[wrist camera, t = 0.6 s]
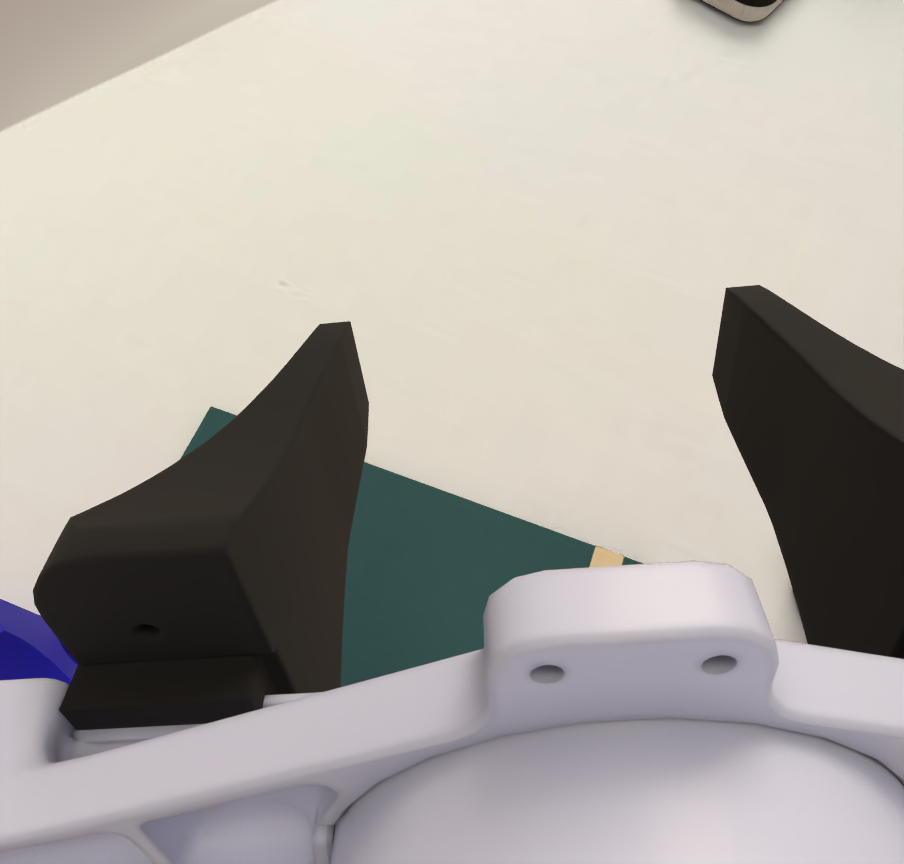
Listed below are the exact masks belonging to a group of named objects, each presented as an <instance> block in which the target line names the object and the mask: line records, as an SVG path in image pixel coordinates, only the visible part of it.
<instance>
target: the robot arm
mask: <svg viewBox="0 0 904 864" xmlns="http://www.w3.org/2000/svg"><path fill="white" fill-rule="evenodd" d="M712 376H713V379H714V383H715V387H716V391H717V394H718V398H719V401H720V405H721V408H722V411H723V415H724V418H725V420H726V422H727V425H728V427H729V429H730V431H731V434H732V436H733V438H734V440H735V442H736V445H737V447H738V449H739V451H740V453H741V455H742V457H743V460H744V462H745V464H746V466H747V468H748V470H749V472H750V475H751V477H752V479H753V481H754V483H755V485H756V487H757V490H758V492H759V494H760V496H761V498H762V500H763V502H764V504H765V507H766V509H767V512H768V514H769V517H770V519H771V522H772V524H773V527H774V530H775V534H776V537H777V540H778V543H779V546H780V549H781V552H782V555H783V558H784V561H785V565H786V568H787V571H788V575H789V578H790V581H791V585H792V588H793V592H794V595H795V598H796V602H797V605H798V609H799V612H800V616H801V620H802V624H803V628H804V631H805V635H806V639H807V643H808V644H804V643H798V642H791V641H785V640H779V639H774V637H773V634H772V631H771V629H770V626H769V623H768V621H767V618H766V616H765V613H764V610H763V608H762V605H761V602H760V600H759V597H758V594H757V592H756V589H755V586H754V584H753V581H752V579H751V578H749V577H747V576H746V575H744V574H743V573H741V572H740V571H738V570H737V569H735V568H734V567H732V566H730V565H727V564H720V563H711V562H701V561H682V562H666V563H651V564H635V565H620V566H604V567H589V568H574V569H558V570H544V571H540V572H536V573H532V574H527V575H523V576H519V577H515V578H513V579H512V580H510V581H509V582H508V583H506V584H505V585H504V586H502V587H501V588H499V589H498V590H497V591H495V592H494V593H492V594H491V595H490V596H489V598H488V602H487V605H486V608H485V611H484V614H483V628H484V648H483V649H480V650H477V651H473V652H469V653H466V654H462V655H458V656H455V657H451V658H447V659H443V660H440V661H436V662H432V663H429V664H425V665H421V666H418V667H414V668H410V669H406V670H403V671H399V672H395V673H392V674H388V675H384V676H381V677H377V678H373V679H370V680H366V681H362V682H358V683H355V684H351V685H347V686H344V687H341V663H342V636H343V617H344V599H345V584H346V570H347V556H348V547H349V540H350V533H351V528H352V522H353V517H354V512H355V507H356V501H357V496H358V491H359V486H360V481H361V475H362V470H363V464H364V459H365V453H366V448H367V435H368V413H369V402H368V397H367V393H366V388H365V384H364V380H363V375H362V371H361V366H360V362H359V358H358V353H357V349H356V344H355V340H354V335H353V331H352V327H351V322H350V321H349V322H338V323H327V324H320V325H319V326H318V327H317V328H316V329H315V330H314V331H313V333H312V334H311V335H310V336H309V337H308V339H307V340H306V341H305V342H304V343H303V345H302V346H301V347H300V348H299V350H298V351H297V352H296V353H295V354H294V356H293V357H292V358H291V359H290V360H289V362H288V363H287V364H286V365H285V366H284V368H283V369H282V370H281V371H280V372H279V373H278V374H277V376H276V377H275V378H274V379H273V380H272V381H271V382H270V383H269V384H268V385H267V386H266V387H265V389H264V390H263V391H262V392H261V393H260V394H259V395H258V396H257V397H256V398H255V399H254V400H253V401H252V402H251V403H250V404H249V405H248V406H247V407H246V408H245V409H244V410H243V411H242V412H241V413H240V414H239V415H237V416H236V417H235V418H234V419H233V420H232V421H231V422H230V423H228V424H227V425H226V426H225V427H223V428H222V429H221V430H220V431H219V432H217V433H216V434H215V435H214V436H213V437H211V438H210V439H209V440H207V441H206V442H205V443H203V444H202V445H200V446H199V447H197V448H196V449H195V450H193V451H192V452H190V453H189V454H187V455H186V456H185V457H183V458H182V459H180V460H179V461H177V462H176V463H175V464H173V465H172V466H170V467H168V468H167V469H165V470H163V471H162V472H160V473H158V474H157V475H155V476H153V477H152V478H150V479H148V480H146V481H145V482H143V483H141V484H139V485H137V486H136V487H134V488H132V489H130V490H128V491H126V492H124V493H122V494H121V495H119V496H116V497H114V498H112V499H110V500H108V501H106V502H104V503H101V504H99V505H97V506H95V507H93V508H91V509H89V510H87V511H84V512H82V513H80V514H78V515H75V516H73V517H71V518H70V519H69V521H68V522H67V524H66V526H65V528H64V529H63V531H62V533H61V535H60V537H59V538H58V540H57V542H56V544H55V546H54V548H53V550H52V552H51V554H50V556H49V558H48V560H47V562H46V563H45V565H44V567H43V569H42V571H41V573H40V575H39V577H38V579H37V582H36V584H35V587H34V589H33V594H34V603H35V606H36V607H37V609H38V611H39V613H40V615H41V616H42V618H43V620H44V621H45V622H46V624H47V625H48V626H49V627H50V629H51V630H52V631H53V633H54V634H55V635H56V636H57V638H58V639H59V640H60V642H61V643H62V644H63V645H64V647H65V648H66V649H67V650H68V652H69V653H70V654H71V656H72V657H73V658H74V659H75V661H76V662H77V663H78V666H77V668H76V671H75V673H74V675H73V678H72V680H71V683H70V685H68V684H67V683H65V682H62V681H59V680H56V679H50V678H34V679H17V680H0V864H904V370H903V369H901V368H898V367H896V366H894V365H892V364H890V363H888V362H886V361H884V360H882V359H881V358H879V357H877V356H875V355H873V354H871V353H870V352H868V351H866V350H864V349H862V348H860V347H859V346H857V345H855V344H853V343H852V342H850V341H848V340H846V339H845V338H843V337H841V336H840V335H838V334H836V333H835V332H833V331H831V330H830V329H828V328H827V327H825V326H824V325H822V324H820V323H819V322H817V321H816V320H814V319H813V318H811V317H809V316H808V315H806V314H805V313H803V312H802V311H800V310H799V309H797V308H796V307H794V306H793V305H791V304H790V303H788V302H786V301H785V300H783V299H782V298H780V297H779V296H777V295H776V294H774V293H772V292H771V291H769V290H767V289H766V288H764V287H762V286H760V285H754V286H743V287H731V288H726V291H725V298H724V304H723V311H722V317H721V323H720V330H719V336H718V343H717V349H716V355H715V362H714V368H713V375H712Z"/></svg>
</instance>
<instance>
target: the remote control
mask: <svg viewBox="0 0 904 864" xmlns="http://www.w3.org/2000/svg"><path fill="white" fill-rule="evenodd" d="M702 1H704V2H706V3H708V4H710V5H712V6H714V7H715V8H717V9H719V10H721V11H723V12H725V13H727V14H729V15H730V16H732V17H734V18H736V19H739V20H742V21H750V22H751V21H758V20H761V19H763V18H765V17H766V16H768V15H769V14H770V13H771V12H772V11H773V10H774V9H775V8H776V7H777V6H778V5H779V4H780V3H781V2H782V1H783V0H702Z"/></svg>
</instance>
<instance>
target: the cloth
mask: <svg viewBox="0 0 904 864" xmlns="http://www.w3.org/2000/svg"><path fill="white" fill-rule="evenodd" d="M235 417H236V415H233V414H231V413H228V412H225V411H222V410H220V409H217V408H214V407H210V409H209V411H208V412H207V414H206V416H205V418H204V419H203V421H202V423H201V425H200V426H199V428H198V430H197V431H196V433H195V435H194V437H193V438H192V440H191V442H190V444H189V445H188V447H187V449H186V451H185V452H184V454H183V456H182V457H181V459H182V458H183V457H185V456H186V455H187V454H189V453H190V452H192V451H193V450H195V449H196V448H197V447H199V446H200V445H202V444H203V443H205V442H206V441H207V440H209V439H210V438H211V437H213V436H214V435H215V434H216V433H217V432H219V431H220V430H221V429H222V428H223V427H225V426H226V425H227V424H228V423H230V422H231V421H232V420H233V419H234V418H235ZM635 564H643V563H640V562H637V561H635V560H632V559H629V558H626V557H624V556H623V555H620V554H617V553H615V552H612V551H609V550H606V549H604V548H601V547H598V546H593V545H591V544H588V543H585V542H582V541H580V540H577V539H574V538H571V537H569V536H566V535H563V534H560V533H558V532H555V531H552V530H549V529H547V528H544V527H541V526H538V525H536V524H533V523H530V522H527V521H525V520H522V519H519V518H516V517H514V516H511V515H508V514H505V513H503V512H500V511H497V510H494V509H492V508H489V507H486V506H483V505H481V504H478V503H475V502H472V501H470V500H467V499H464V498H461V497H459V496H456V495H453V494H450V493H448V492H445V491H442V490H439V489H437V488H434V487H431V486H428V485H426V484H423V483H420V482H417V481H415V480H412V479H409V478H406V477H404V476H401V475H398V474H395V473H393V472H390V471H387V470H384V469H382V468H379V467H376V466H373V465H371V464H368V463H365V462H364V464H363V470H362V475H361V481H360V486H359V491H358V496H357V501H356V507H355V512H354V517H353V522H352V528H351V533H350V540H349V547H348V556H347V570H346V584H345V599H344V617H343V636H342V663H341V687H344V686H347V685H351V684H355V683H358V682H362V681H366V680H370V679H373V678H377V677H381V676H384V675H388V674H392V673H395V672H399V671H403V670H406V669H410V668H414V667H418V666H421V665H425V664H429V663H432V662H436V661H440V660H443V659H447V658H451V657H455V656H458V655H462V654H466V653H469V652H473V651H477V650H480V649H483V648H484V628H483V614H484V611H485V608H486V605H487V602H488V598H489V596H490V595H491V594H492V593H494V592H495V591H497V590H498V589H499V588H501V587H502V586H504V585H505V584H506V583H508V582H509V581H510V580H512V579H513V578H515V577H519V576H523V575H527V574H532V573H536V572H540V571H544V570H558V569H574V568H589V567H604V566H620V565H635Z"/></svg>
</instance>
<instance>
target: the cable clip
mask: <svg viewBox="0 0 904 864" xmlns="http://www.w3.org/2000/svg"><path fill="white" fill-rule="evenodd" d="M77 666H78V663H77V662H76V661H75V659H74V658H73V657H72V656H71V654H70V653H69V652H68V650H67V649H66V648H65V647H64V645H63V644H62V643H61V642H60V640H59V639H58V638H57V636H56V635H55V634H54V633H53V631H52V630H51V629H50V627H49V626H48V625H47V624H46V622H45V621H44V620H43V618H42V616H40V615H37V614H35V613H33V612H30V611H28V610H25V609H23V608H21V607H18V606H16V605H13V604H11V603H9V602H6V601H4V600H2V599H0V680H17V679H34V678H50V679H56V680H59V681H62V682H65V683H67V684H68V685H70V683H71V680H72V678H73V675H74V673H75V671H76V668H77Z"/></svg>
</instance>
